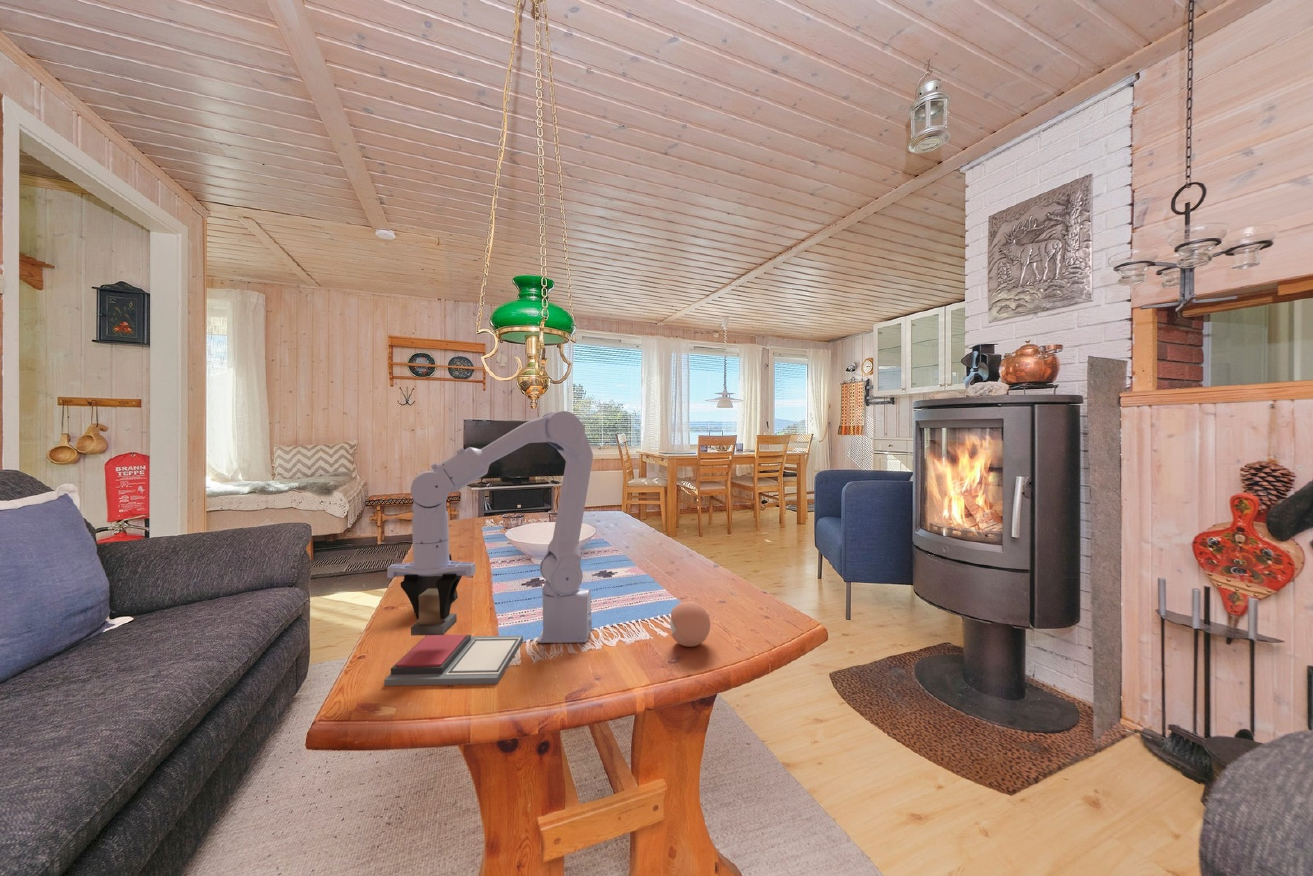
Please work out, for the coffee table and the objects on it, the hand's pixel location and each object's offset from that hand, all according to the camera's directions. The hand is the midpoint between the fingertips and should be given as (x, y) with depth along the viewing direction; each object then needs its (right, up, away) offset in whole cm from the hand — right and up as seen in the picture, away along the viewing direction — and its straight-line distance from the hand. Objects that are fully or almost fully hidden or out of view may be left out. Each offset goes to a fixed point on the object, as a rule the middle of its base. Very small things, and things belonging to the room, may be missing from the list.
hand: (433, 616), depth 82 cm
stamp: (0, -2, 0) cm, 2 cm away
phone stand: (-12, -8, +26) cm, 30 cm away
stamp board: (+5, -8, 0) cm, 9 cm away
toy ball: (+46, -8, +6) cm, 47 cm away
